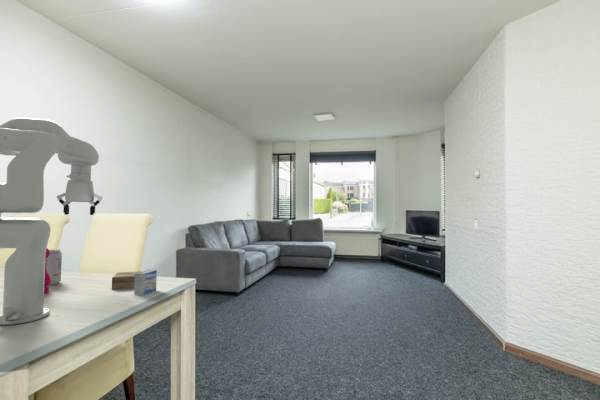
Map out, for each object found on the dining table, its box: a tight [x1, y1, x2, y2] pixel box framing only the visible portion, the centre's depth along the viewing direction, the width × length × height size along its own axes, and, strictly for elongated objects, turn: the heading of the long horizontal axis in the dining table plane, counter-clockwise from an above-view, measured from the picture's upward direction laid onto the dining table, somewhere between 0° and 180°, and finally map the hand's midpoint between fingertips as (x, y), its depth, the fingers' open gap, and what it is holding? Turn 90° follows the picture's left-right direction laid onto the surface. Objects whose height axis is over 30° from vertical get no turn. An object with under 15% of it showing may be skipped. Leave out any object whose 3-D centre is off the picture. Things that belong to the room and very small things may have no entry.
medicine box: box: [133, 269, 158, 296], centre depth 124 cm, size 8×4×9 cm, turn 168°
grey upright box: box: [46, 248, 63, 286], centre depth 134 cm, size 6×6×15 cm
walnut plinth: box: [111, 270, 142, 291], centre depth 134 cm, size 10×10×5 cm
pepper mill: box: [44, 247, 51, 295], centre depth 121 cm, size 7×7×20 cm
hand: (79, 214), depth 138 cm, fingers open, 9 cm apart
